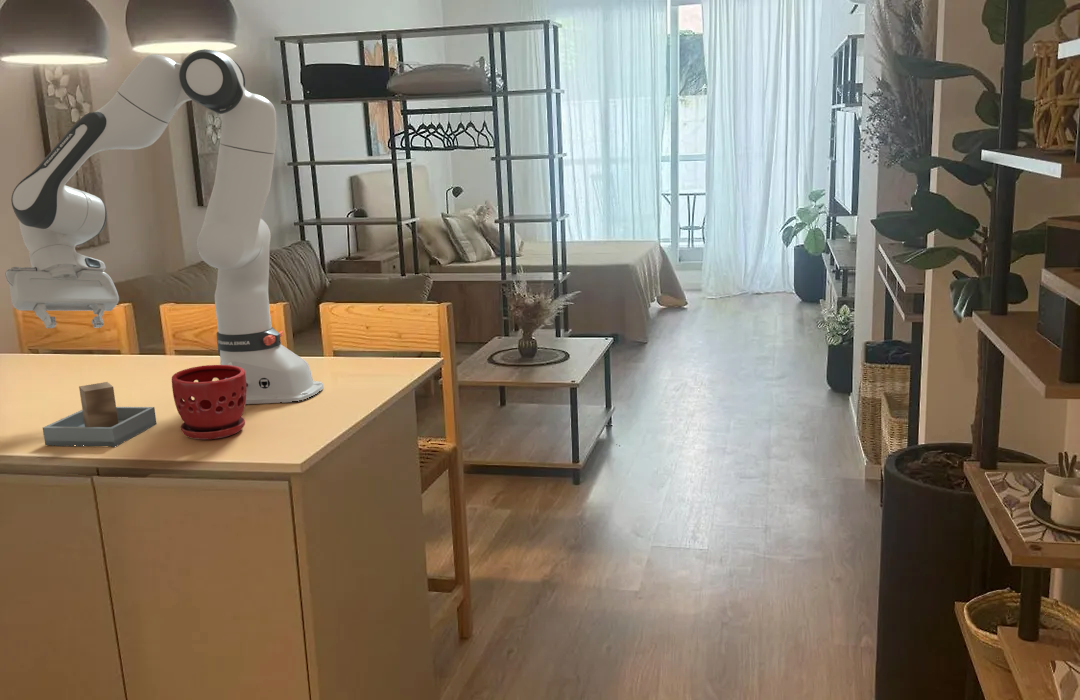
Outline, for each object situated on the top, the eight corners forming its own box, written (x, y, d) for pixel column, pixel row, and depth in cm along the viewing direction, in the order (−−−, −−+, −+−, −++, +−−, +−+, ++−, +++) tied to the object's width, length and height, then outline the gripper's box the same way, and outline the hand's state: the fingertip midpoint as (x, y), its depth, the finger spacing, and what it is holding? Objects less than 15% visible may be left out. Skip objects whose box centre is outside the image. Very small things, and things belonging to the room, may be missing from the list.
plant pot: (164, 443, 173) (156, 380, 170) (201, 422, 186) (194, 363, 183) (230, 445, 171) (223, 381, 168) (263, 423, 183) (257, 364, 181)
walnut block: (113, 424, 183) (107, 381, 181) (119, 429, 179) (113, 386, 177) (85, 429, 180) (79, 386, 178) (90, 435, 176) (84, 391, 174)
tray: (156, 424, 185) (154, 407, 185) (114, 447, 172) (112, 428, 171) (91, 423, 187) (89, 406, 187) (45, 445, 174) (42, 427, 173)
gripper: (8, 257, 182) (27, 318, 178) (111, 262, 198) (130, 317, 194) (-3, 275, 186) (15, 335, 182) (99, 279, 202) (117, 333, 198)
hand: (75, 326), depth 188 cm, fingers open, 8 cm apart
